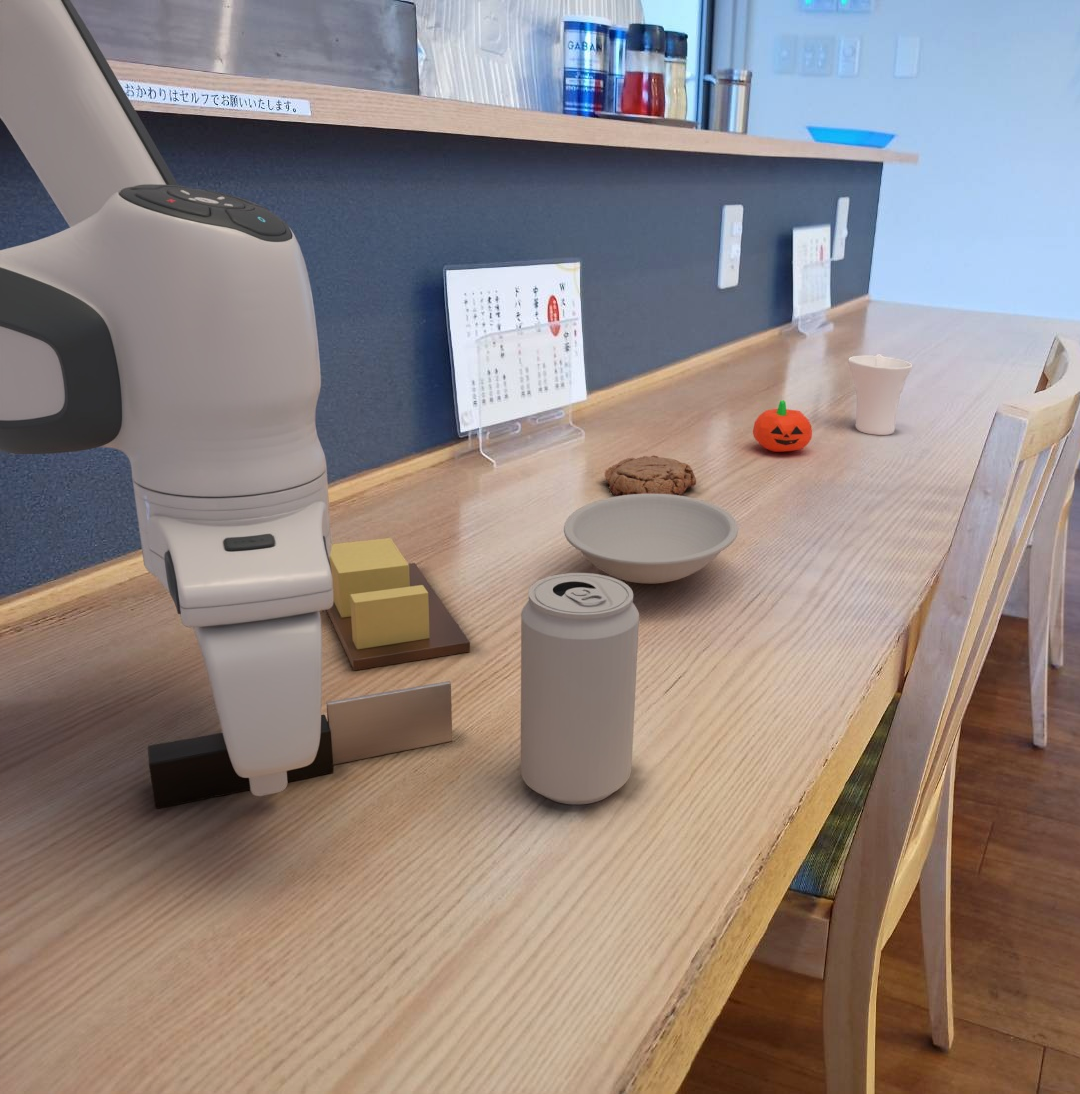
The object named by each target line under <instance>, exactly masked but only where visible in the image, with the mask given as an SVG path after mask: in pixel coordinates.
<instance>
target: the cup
mask: <svg viewBox="0 0 1080 1094" xmlns="http://www.w3.org/2000/svg"><path fill="white" fill-rule="evenodd" d="M847 364H848V367H849V369H850V372H851V375H852V379H853V386H854V390H855V395H856V415H855V416H856V417H855V425H854V426H855V428H856V430H857V431H859V432H861V433H864V434H869V435H877V436H888V435H892V434H894V432H895V430H896V420H897V413H898V407H899V402H900V397H901V394H902V393H903V389H904V386H905V384H906V381H907V378H908V377H909V375H910V373H911V372H912V370H913V368H914V364H912V363H911V362H910V361H907V360H904V359H901V358H897V357H892V356H891V357H890V356H883V355H882V354H881V353H877V354H876V355H869V354H868V355H867V354H866V355H853V356H850V357H849V358H848V359H847Z"/></svg>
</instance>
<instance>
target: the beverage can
mask: <svg viewBox="0 0 1080 1094" xmlns="http://www.w3.org/2000/svg"><path fill="white" fill-rule="evenodd" d="M633 601H634V592H633V590H632V588H631V587H630V586H629V585H628V584H626V583H625V582H624V581H623V580H621V579H618V578H616V577H613V576H610V575H604V574H599V573H591V572H567V573H559V574H554V575H551V576H547V577H544V578H542V579H539V580H537V581H536V582H534V583H533V584H532V585H531V586H530V587H529V589H528V600H527V602H526V603H525V605H524V606H523V608H522V610H521V612H520V633H521V634H520V753H519V754H520V756H519V757H520V766H519V767H520V769H519V771H520V776H521V778H522V780H523V782H524V783H525V785H527V786H528V787H529V789H531V790H533V791H534V792H536V793H538V794H539V795H541V796H543V797H545V798H546V799H549V800H550V801H553V802H556V803H561V804H565V805H588V804H592V803H593V804H594V803H597V802H600V801H602V800H605V799H606V798H609V797H610V796H611V795H612V794H613V793H615V792H617V791H618V790H619V789H621V788H622V787H623V786H625V784H626V783H627V781H628V780H629V778H630V776H631V774H632V768H633V767H632V765H633V748H634V747H633V746H634V727H635V726H634V725H635V710H636V709H635V706H636V687H637V667H638V665H637V664H638V649H639V648H638V646H639V645H638V644H639V627H640V612H639V610H638V608H637V606H636V605H635V603H634V602H633Z"/></svg>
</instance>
